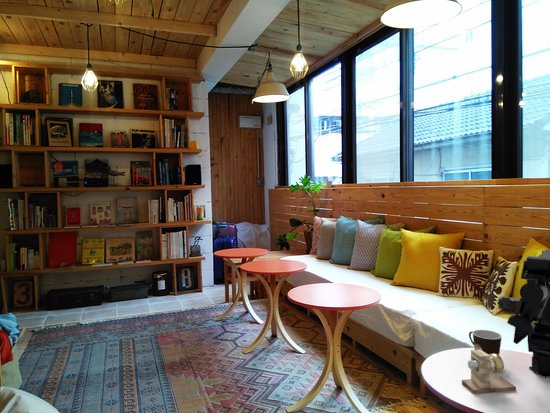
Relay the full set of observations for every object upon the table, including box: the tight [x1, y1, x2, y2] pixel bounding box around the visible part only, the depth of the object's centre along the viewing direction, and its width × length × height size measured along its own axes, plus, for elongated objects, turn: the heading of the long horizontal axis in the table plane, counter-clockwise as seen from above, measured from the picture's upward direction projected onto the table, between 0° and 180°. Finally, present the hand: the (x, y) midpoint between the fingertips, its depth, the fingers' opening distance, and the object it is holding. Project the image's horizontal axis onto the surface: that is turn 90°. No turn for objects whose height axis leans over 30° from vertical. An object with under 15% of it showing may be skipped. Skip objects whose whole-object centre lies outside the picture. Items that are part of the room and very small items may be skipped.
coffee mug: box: [468, 329, 502, 356], centre depth 130 cm, size 12×9×10 cm
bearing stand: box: [461, 349, 517, 395], centre depth 113 cm, size 13×6×10 cm, turn 96°
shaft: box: [467, 354, 505, 374], centre depth 113 cm, size 9×5×5 cm, turn 96°
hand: (515, 343), depth 118 cm, fingers closed
